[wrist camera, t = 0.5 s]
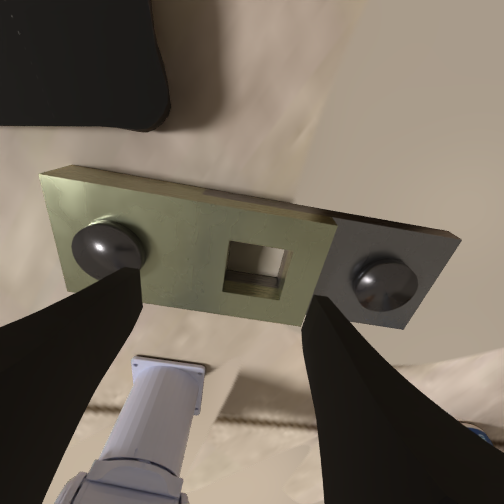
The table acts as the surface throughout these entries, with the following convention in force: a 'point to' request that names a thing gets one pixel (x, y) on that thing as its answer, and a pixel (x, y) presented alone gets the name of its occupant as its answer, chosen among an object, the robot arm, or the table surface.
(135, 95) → the black sponge
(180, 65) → the table surface
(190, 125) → the table surface
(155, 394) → the robot arm
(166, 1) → the table surface
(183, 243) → the green peg socket base
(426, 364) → the table surface
